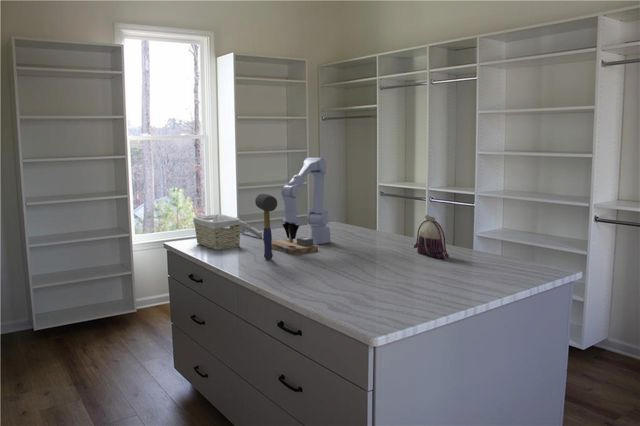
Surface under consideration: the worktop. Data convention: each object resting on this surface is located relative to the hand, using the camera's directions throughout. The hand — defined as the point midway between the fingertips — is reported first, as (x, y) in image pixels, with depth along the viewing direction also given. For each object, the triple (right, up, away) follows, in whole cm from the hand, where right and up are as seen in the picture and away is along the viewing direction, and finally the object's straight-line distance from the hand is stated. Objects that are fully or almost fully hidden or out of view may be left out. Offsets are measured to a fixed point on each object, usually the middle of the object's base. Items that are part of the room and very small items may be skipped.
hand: (291, 238), depth 266 cm
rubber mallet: (-10, -9, -14) cm, 20 cm away
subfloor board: (0, -6, +8) cm, 10 cm away
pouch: (+64, -8, -15) cm, 66 cm away
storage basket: (-39, -5, +21) cm, 45 cm away
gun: (-27, -1, +47) cm, 54 cm away
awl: (0, -2, 0) cm, 2 cm away
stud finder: (+6, -3, +5) cm, 9 cm away
